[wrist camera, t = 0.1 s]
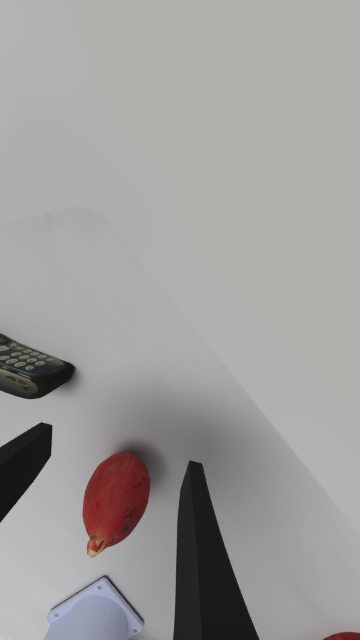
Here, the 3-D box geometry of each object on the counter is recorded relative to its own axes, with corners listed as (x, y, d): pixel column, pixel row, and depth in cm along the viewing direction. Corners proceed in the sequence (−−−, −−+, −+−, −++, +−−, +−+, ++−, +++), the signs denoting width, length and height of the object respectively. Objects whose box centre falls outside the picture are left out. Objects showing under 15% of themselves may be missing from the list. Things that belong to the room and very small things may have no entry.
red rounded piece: (158, 438, 20) (139, 526, 12) (153, 484, 20) (130, 599, 12) (108, 430, 20) (57, 512, 12) (104, 476, 21) (51, 584, 13)
